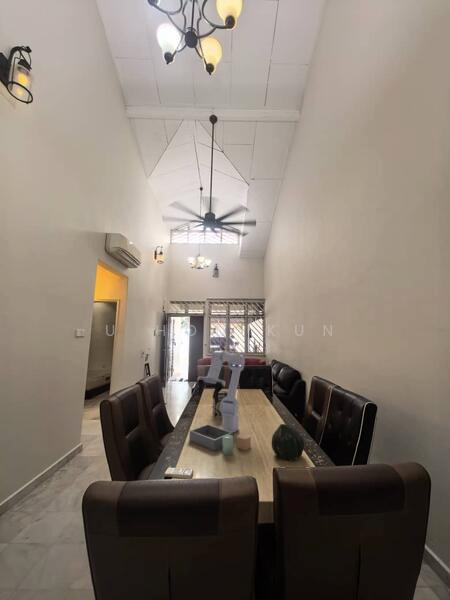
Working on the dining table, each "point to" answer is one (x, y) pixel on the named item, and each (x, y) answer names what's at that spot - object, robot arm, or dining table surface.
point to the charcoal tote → (208, 436)
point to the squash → (287, 443)
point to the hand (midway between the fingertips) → (206, 396)
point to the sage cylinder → (227, 445)
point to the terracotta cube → (243, 441)
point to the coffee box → (218, 404)
